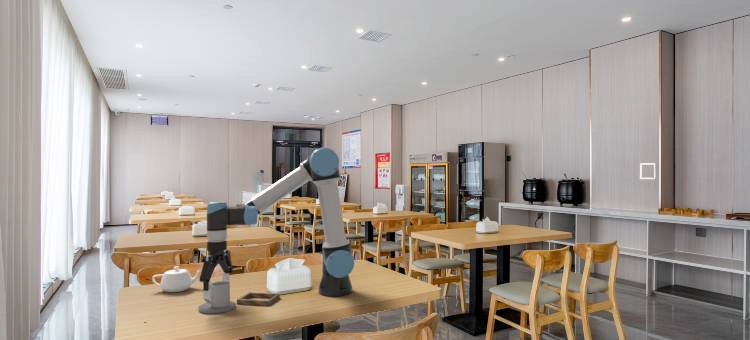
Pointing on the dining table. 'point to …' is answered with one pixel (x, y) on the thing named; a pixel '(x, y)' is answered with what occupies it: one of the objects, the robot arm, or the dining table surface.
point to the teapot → (176, 280)
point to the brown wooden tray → (258, 302)
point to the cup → (219, 294)
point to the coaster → (208, 309)
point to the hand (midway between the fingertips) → (217, 293)
